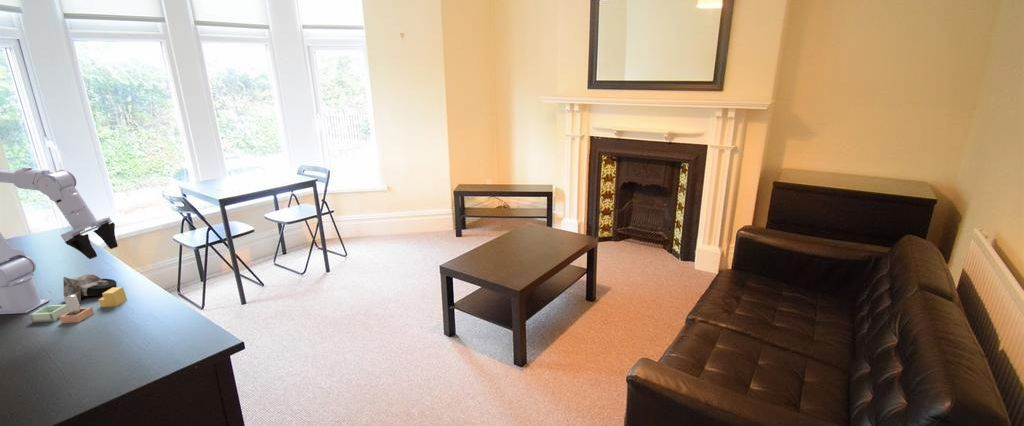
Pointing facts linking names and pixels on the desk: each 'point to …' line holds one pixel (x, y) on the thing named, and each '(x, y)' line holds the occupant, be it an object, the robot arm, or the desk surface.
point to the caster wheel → (87, 286)
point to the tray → (49, 313)
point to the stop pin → (73, 304)
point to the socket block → (76, 316)
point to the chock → (113, 297)
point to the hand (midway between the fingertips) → (104, 252)
